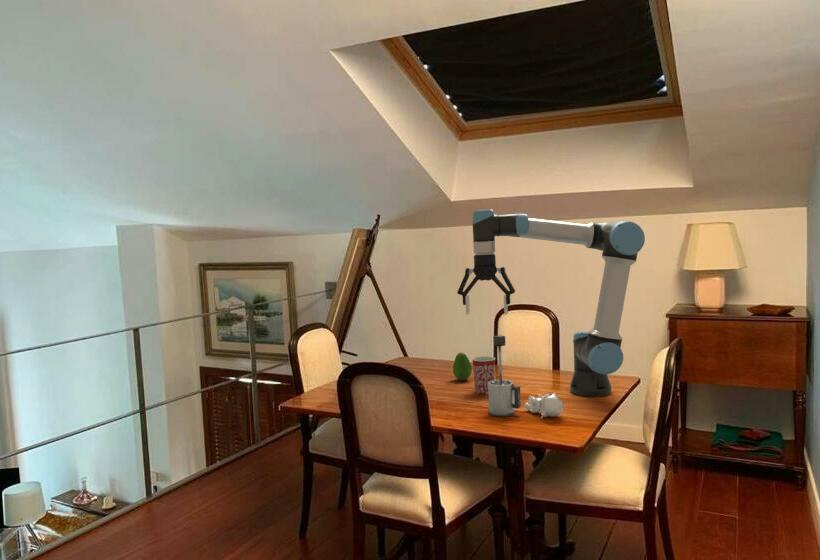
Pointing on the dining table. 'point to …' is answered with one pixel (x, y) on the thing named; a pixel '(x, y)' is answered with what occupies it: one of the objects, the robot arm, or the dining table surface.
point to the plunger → (499, 342)
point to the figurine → (545, 405)
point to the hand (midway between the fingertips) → (486, 314)
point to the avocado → (462, 367)
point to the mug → (483, 373)
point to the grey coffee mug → (503, 398)
